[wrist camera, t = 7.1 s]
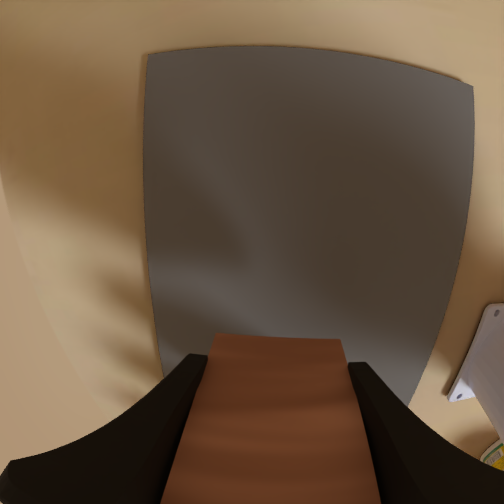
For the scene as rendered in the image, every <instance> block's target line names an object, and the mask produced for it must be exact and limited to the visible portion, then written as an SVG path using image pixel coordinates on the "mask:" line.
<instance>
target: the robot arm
mask: <svg viewBox="0 0 504 504" xmlns="http://www.w3.org/2000/svg"><path fill="white" fill-rule="evenodd" d="M495 311H496V312H495ZM207 361H208V355H200V354H192V353H189V354H188V355H186V356H185V358H184V359H183V360H182V361H181V362H180V363H179V364H178V365H177V366H176V367H175V368H174V369H173V370H172V371H171V372H170V373H169V374H168V375H167V376H166V377H165V378H164V379H163V380H162V381H161V382H160V383H159V384H158V385H156V386H155V387H154V388H153V389H152V390H151V391H150V392H149V393H148V394H147V395H145V396H144V397H143V398H142V399H140V400H139V401H138V402H137V403H136V404H134V405H133V406H132V407H131V408H129V409H128V410H127V411H125V412H124V413H123V414H121V415H120V416H118V417H117V418H115V419H114V420H112V421H111V422H109V423H108V424H106V425H104V426H103V427H101V428H99V429H97V430H96V431H94V432H92V433H90V434H88V435H86V436H84V437H82V438H80V439H78V440H76V441H74V442H72V443H69V444H67V445H64V446H62V447H59V448H57V449H54V450H51V451H48V452H45V453H41V454H38V455H34V456H30V457H25V458H21V459H16V460H11V461H10V462H9V464H8V465H7V466H6V468H5V469H4V471H3V473H2V474H1V476H0V501H1V502H2V503H3V504H160V503H161V499H162V496H163V493H164V490H165V487H166V484H167V481H168V477H169V474H170V471H171V468H172V465H173V462H174V459H175V456H176V452H177V449H178V446H179V443H180V440H181V437H182V434H183V431H184V428H185V425H186V422H187V419H188V415H189V412H190V409H191V406H192V403H193V400H194V397H195V394H196V391H197V389H198V387H199V384H200V382H201V380H202V377H203V374H204V371H205V368H206V365H207ZM347 368H348V371H349V375H350V378H351V382H352V386H353V389H354V391H355V394H356V397H357V400H358V404H359V408H360V412H361V416H362V420H363V424H364V428H365V432H366V436H367V440H368V444H369V449H370V453H371V458H372V462H373V467H374V471H375V476H376V481H377V486H378V491H379V496H380V501H381V504H504V471H503V470H500V469H497V468H495V467H493V466H490V465H488V464H486V463H484V462H482V461H480V460H478V459H476V458H474V457H472V456H470V455H469V454H467V453H465V452H464V451H462V450H460V449H459V448H457V447H455V446H454V445H452V444H451V443H449V442H448V441H447V440H445V439H444V438H443V437H441V436H440V435H439V434H437V433H436V432H435V431H433V430H432V429H431V428H430V427H429V426H427V425H426V424H425V423H424V422H423V421H422V420H421V419H420V418H418V417H417V416H416V415H415V414H414V413H413V412H412V411H411V410H410V409H409V408H408V407H407V406H406V405H405V404H404V403H403V402H402V401H401V400H400V399H399V398H398V397H397V396H396V395H395V394H394V393H393V391H392V390H391V389H390V388H389V387H388V386H387V385H386V384H385V383H384V381H383V380H382V379H381V378H380V377H379V376H378V375H377V373H376V372H375V371H374V370H373V369H372V368H371V367H370V366H369V364H368V363H367V362H348V366H347ZM472 397H476V398H477V399H478V401H479V403H480V404H481V406H482V408H483V409H484V411H485V413H486V414H487V416H488V418H489V419H490V421H491V423H492V425H493V426H494V428H495V430H496V432H497V433H498V435H499V437H500V439H501V441H502V442H503V444H504V303H499V304H489V305H488V306H487V307H486V308H485V310H484V313H483V316H482V319H481V321H480V324H479V327H478V329H477V332H476V335H475V337H474V340H473V342H472V345H471V347H470V349H469V352H468V354H467V356H466V359H465V361H464V363H463V365H462V367H461V370H460V372H459V374H458V376H457V378H456V380H455V382H454V384H453V386H452V388H451V390H450V392H449V394H448V396H447V399H448V401H449V402H453V401H458V400H463V399H467V398H472Z"/></svg>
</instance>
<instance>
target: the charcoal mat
mask: <svg viewBox="0 0 504 504" xmlns="http://www.w3.org/2000/svg"><path fill="white" fill-rule="evenodd" d="M474 130H475V121H474V92H473V86H471V85H469V84H466V83H463V82H461V81H458V80H455V79H452V78H449V77H446V76H443V75H440V74H437V73H434V72H430V71H427V70H424V69H420V68H416V67H413V66H409V65H405V64H401V63H397V62H392V61H388V60H383V59H378V58H373V57H368V56H362V55H356V54H350V53H343V52H336V51H328V50H319V49H309V48H296V47H276V46H230V47H210V48H197V49H186V50H177V51H169V52H162V53H155V54H149V55H148V61H147V73H146V86H145V104H144V130H143V185H144V213H145V231H146V245H147V258H148V269H149V279H150V288H151V297H152V305H153V313H154V320H155V327H156V334H157V340H158V347H159V353H160V359H161V364H162V370H163V375H164V378H165V377H166V376H167V375H168V374H169V373H170V372H171V371H172V370H173V369H174V368H175V367H176V366H177V365H178V364H179V363H180V362H181V361H182V360H183V359H184V358H185V356H186V355H188V354H189V353H192V354H200V355H209V352H210V349H211V346H212V343H213V340H214V337H215V334H216V333H225V334H237V335H251V336H267V337H287V338H316V339H340V340H341V343H342V347H343V350H344V353H345V357H346V360H347V364H348V362H367V363H368V364H369V366H370V367H371V368H372V369H373V370H374V371H375V372H376V373H377V375H378V376H379V377H380V378H381V379H382V380H383V381H384V383H385V384H386V385H387V386H388V387H389V388H390V389H391V390H392V391H393V393H394V394H395V395H396V396H397V397H398V398H399V399H400V400H401V401H402V402H403V403H404V404H405V405H406V406H407V407H408V405H409V403H410V401H411V398H412V396H413V394H414V392H415V390H416V388H417V386H418V383H419V381H420V379H421V377H422V374H423V372H424V369H425V367H426V365H427V362H428V360H429V357H430V355H431V352H432V349H433V347H434V344H435V341H436V339H437V336H438V333H439V330H440V327H441V324H442V321H443V318H444V315H445V312H446V309H447V305H448V302H449V298H450V295H451V291H452V288H453V284H454V280H455V276H456V272H457V268H458V264H459V259H460V255H461V250H462V245H463V240H464V235H465V229H466V223H467V217H468V210H469V202H470V194H471V185H472V174H473V160H474Z"/></svg>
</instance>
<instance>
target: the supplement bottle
mask: <svg viewBox="0 0 504 504" xmlns="http://www.w3.org/2000/svg"><path fill="white" fill-rule="evenodd" d="M480 461H482V462H484V463H486V464H488V465H490V466H493V467H495V468H497V469H500V470H503V471H504V444H503V442H502V441H501V439H499V440H498V441H496V442H495V443H493V444H492V445H491V446H490V447H489V448H488V449H487V450H486V451H485V452H484V453H483V454H482V456H481V458H480Z"/></svg>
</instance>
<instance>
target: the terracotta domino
mask: <svg viewBox="0 0 504 504" xmlns="http://www.w3.org/2000/svg"><path fill="white" fill-rule="evenodd" d="M347 366H348V364H347V360H346V357H345V353H344V350H343V347H342V343H341V340H340V339H316V338H287V337H267V336H251V335H237V334H225V333H216V334H215V337H214V340H213V343H212V346H211V349H210V352H209V355H208V361H207V365H206V368H205V371H204V374H203V377H202V380H201V382H200V384H199V387H198V389H197V391H196V394H195V397H194V400H193V403H192V406H191V409H190V412H189V415H188V419H187V422H186V425H185V428H184V431H183V434H182V437H181V440H180V443H179V446H178V449H177V452H176V456H175V459H174V462H173V465H172V468H171V471H170V474H169V477H168V481H167V484H166V487H165V490H164V493H163V496H162V499H161V503H160V504H381V501H380V496H379V491H378V486H377V481H376V476H375V471H374V467H373V462H372V458H371V453H370V449H369V444H368V440H367V436H366V432H365V428H364V424H363V420H362V416H361V412H360V408H359V404H358V400H357V397H356V394H355V391H354V389H353V386H352V382H351V378H350V375H349V371H348V368H347Z"/></svg>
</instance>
